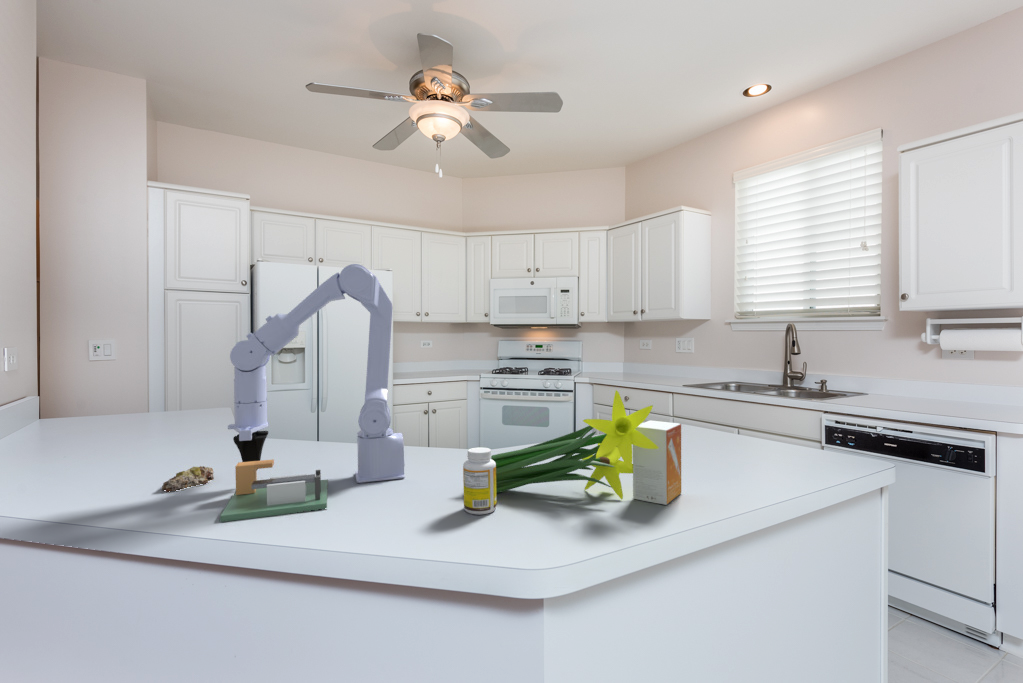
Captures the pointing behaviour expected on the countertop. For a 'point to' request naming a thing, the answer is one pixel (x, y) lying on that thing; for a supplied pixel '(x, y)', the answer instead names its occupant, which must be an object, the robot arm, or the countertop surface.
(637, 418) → the daffodil flowers
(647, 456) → the small box
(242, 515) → the board
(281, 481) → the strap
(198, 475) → the mineral rock
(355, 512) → the countertop surface
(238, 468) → the orange l-shaped block
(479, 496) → the supplement bottle
